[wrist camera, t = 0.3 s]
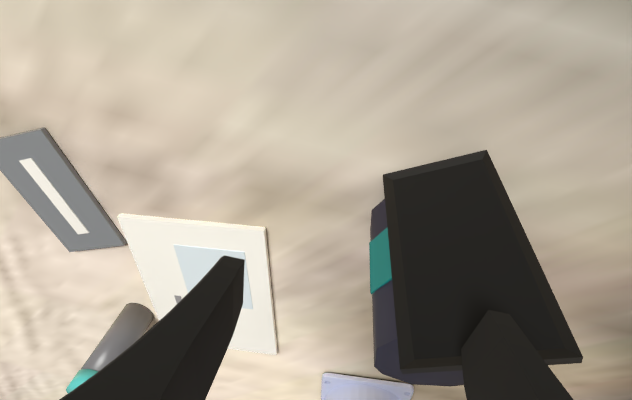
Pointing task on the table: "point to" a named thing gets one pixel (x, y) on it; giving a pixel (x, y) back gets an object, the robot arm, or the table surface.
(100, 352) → the marker
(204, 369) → the robot arm
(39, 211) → the plate
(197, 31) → the table surface
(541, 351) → the speaker
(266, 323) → the paper
